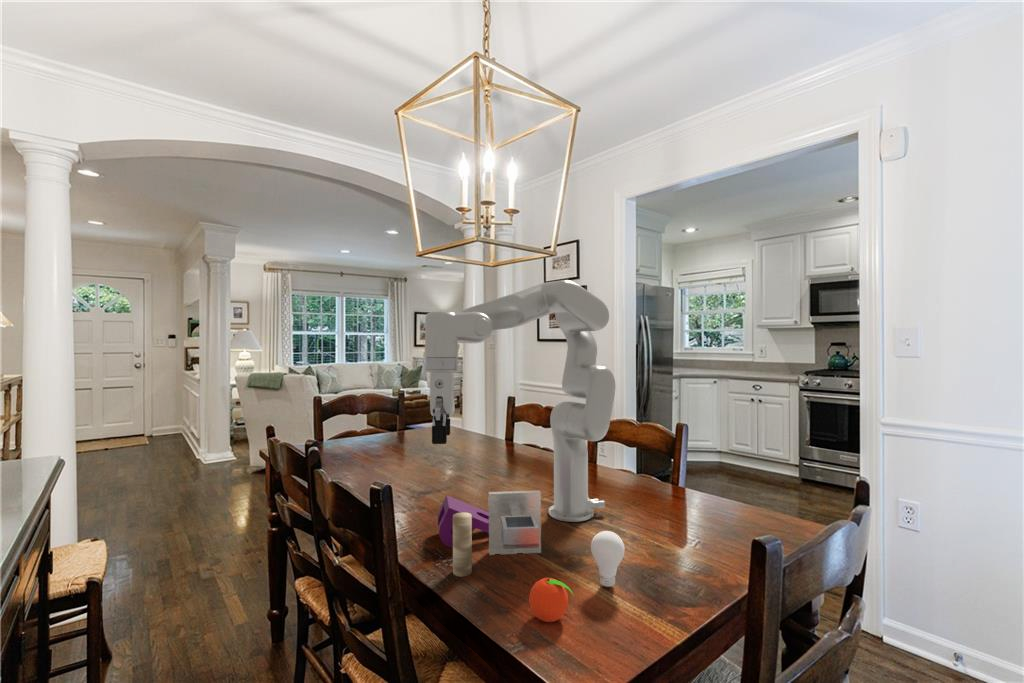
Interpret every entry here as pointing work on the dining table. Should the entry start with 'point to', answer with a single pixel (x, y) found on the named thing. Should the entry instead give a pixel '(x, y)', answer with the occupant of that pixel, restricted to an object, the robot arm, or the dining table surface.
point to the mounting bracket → (456, 506)
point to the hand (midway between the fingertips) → (441, 439)
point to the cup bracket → (514, 522)
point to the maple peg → (462, 544)
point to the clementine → (549, 599)
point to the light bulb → (607, 555)
